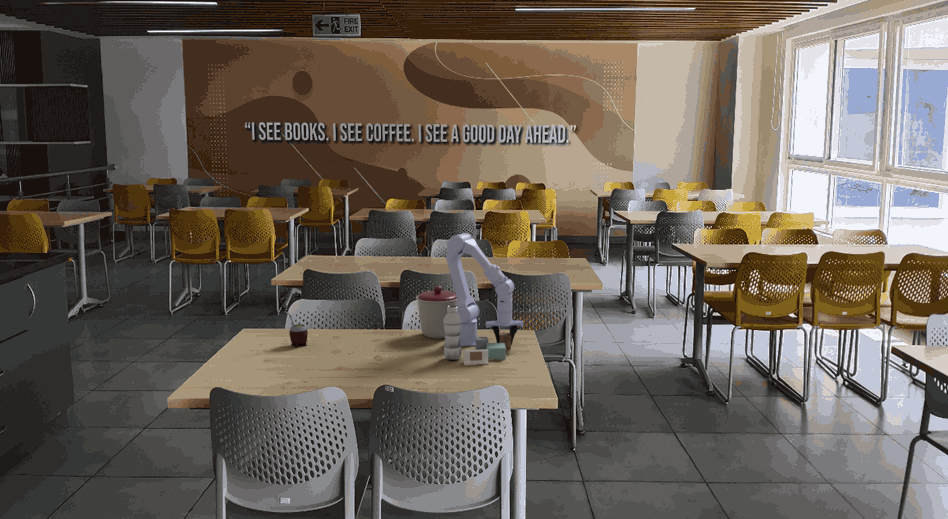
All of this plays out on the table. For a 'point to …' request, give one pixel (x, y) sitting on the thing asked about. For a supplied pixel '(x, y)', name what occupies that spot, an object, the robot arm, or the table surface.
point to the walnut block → (505, 339)
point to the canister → (434, 311)
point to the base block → (496, 350)
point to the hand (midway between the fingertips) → (504, 344)
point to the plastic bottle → (452, 334)
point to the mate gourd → (298, 334)
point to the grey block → (481, 343)
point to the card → (475, 357)
